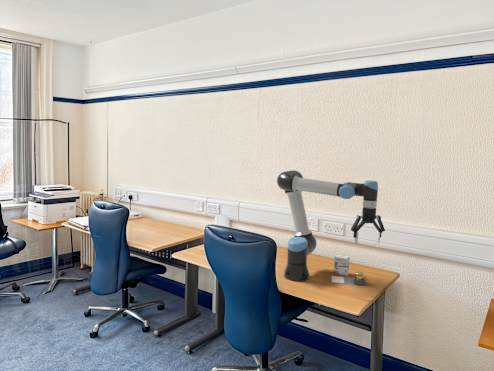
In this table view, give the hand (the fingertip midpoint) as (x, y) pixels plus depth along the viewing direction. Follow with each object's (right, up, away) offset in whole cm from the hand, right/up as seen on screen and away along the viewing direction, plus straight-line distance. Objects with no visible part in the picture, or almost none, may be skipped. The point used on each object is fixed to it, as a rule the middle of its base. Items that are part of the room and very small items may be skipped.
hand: (366, 243), depth 222 cm
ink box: (-12, -22, +14) cm, 28 cm away
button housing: (-5, -23, -2) cm, 24 cm away
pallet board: (-11, -23, +1) cm, 26 cm away
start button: (-5, -23, -2) cm, 23 cm away
